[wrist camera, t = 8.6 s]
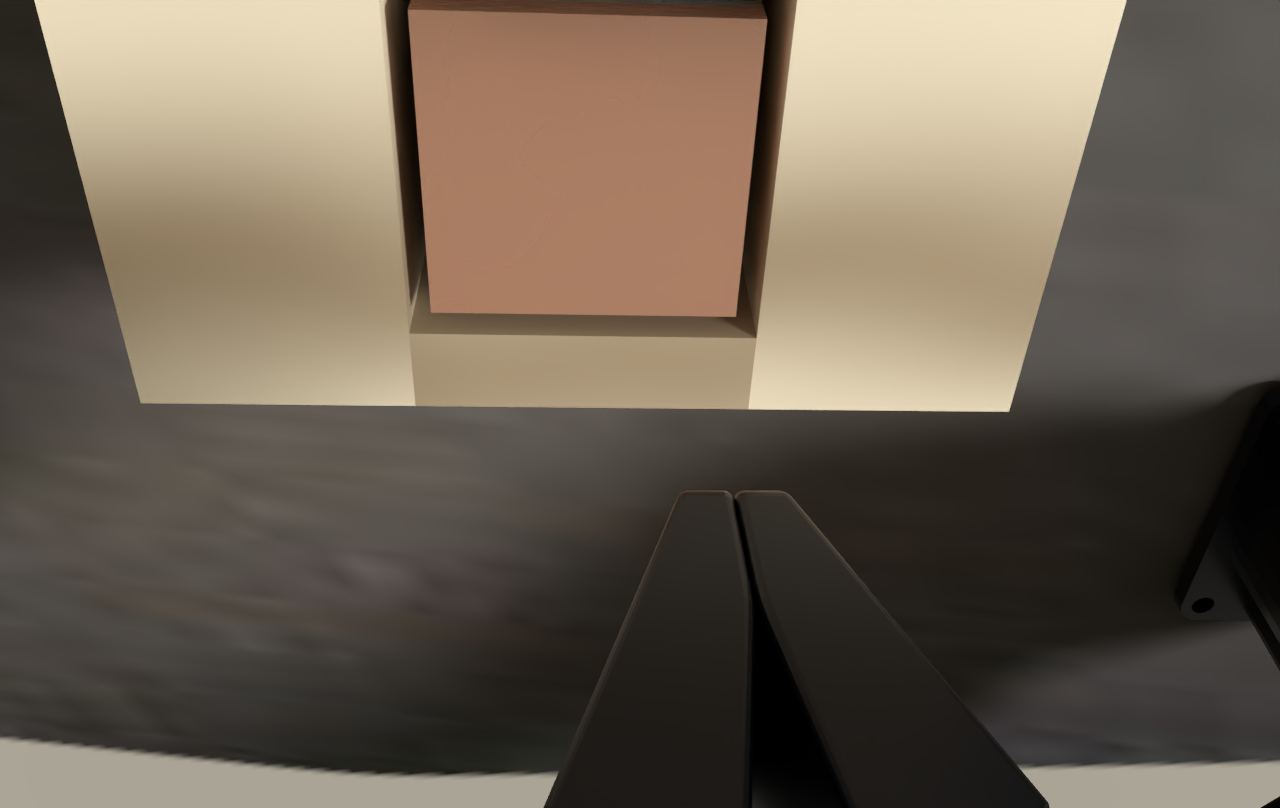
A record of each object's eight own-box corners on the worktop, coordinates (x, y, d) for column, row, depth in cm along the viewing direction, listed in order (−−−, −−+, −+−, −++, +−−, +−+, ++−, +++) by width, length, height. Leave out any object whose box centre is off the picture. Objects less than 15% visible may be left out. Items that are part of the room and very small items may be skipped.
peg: (702, 127, 21) (736, 317, 16) (465, 121, 21) (430, 312, 16) (721, -121, 18) (767, 19, 14) (452, -131, 18) (407, 10, 13)
